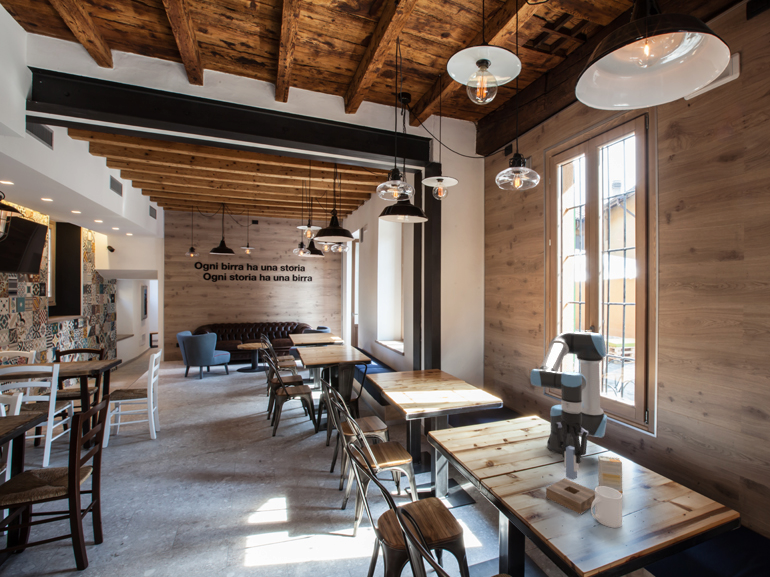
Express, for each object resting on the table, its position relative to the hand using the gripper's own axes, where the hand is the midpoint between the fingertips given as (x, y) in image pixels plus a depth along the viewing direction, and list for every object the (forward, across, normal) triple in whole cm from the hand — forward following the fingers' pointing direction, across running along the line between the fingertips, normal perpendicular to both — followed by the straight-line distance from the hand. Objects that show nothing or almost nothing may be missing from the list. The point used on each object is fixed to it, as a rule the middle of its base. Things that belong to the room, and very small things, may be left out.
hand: (571, 468), depth 150 cm
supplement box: (+13, +5, +22) cm, 26 cm away
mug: (+13, +14, -4) cm, 20 cm away
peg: (+4, 0, 0) cm, 4 cm away
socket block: (+13, 0, 0) cm, 13 cm away
